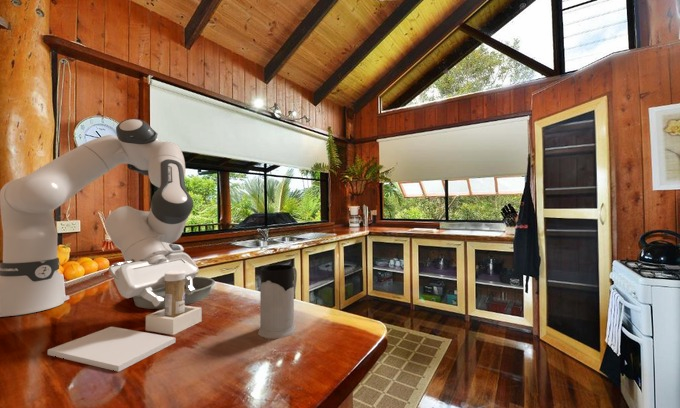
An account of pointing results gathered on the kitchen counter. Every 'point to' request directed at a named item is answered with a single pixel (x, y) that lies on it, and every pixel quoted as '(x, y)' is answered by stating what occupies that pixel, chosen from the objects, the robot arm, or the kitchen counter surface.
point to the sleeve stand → (173, 320)
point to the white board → (112, 348)
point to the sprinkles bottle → (174, 293)
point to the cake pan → (201, 292)
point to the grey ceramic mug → (277, 301)
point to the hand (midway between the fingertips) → (177, 298)
